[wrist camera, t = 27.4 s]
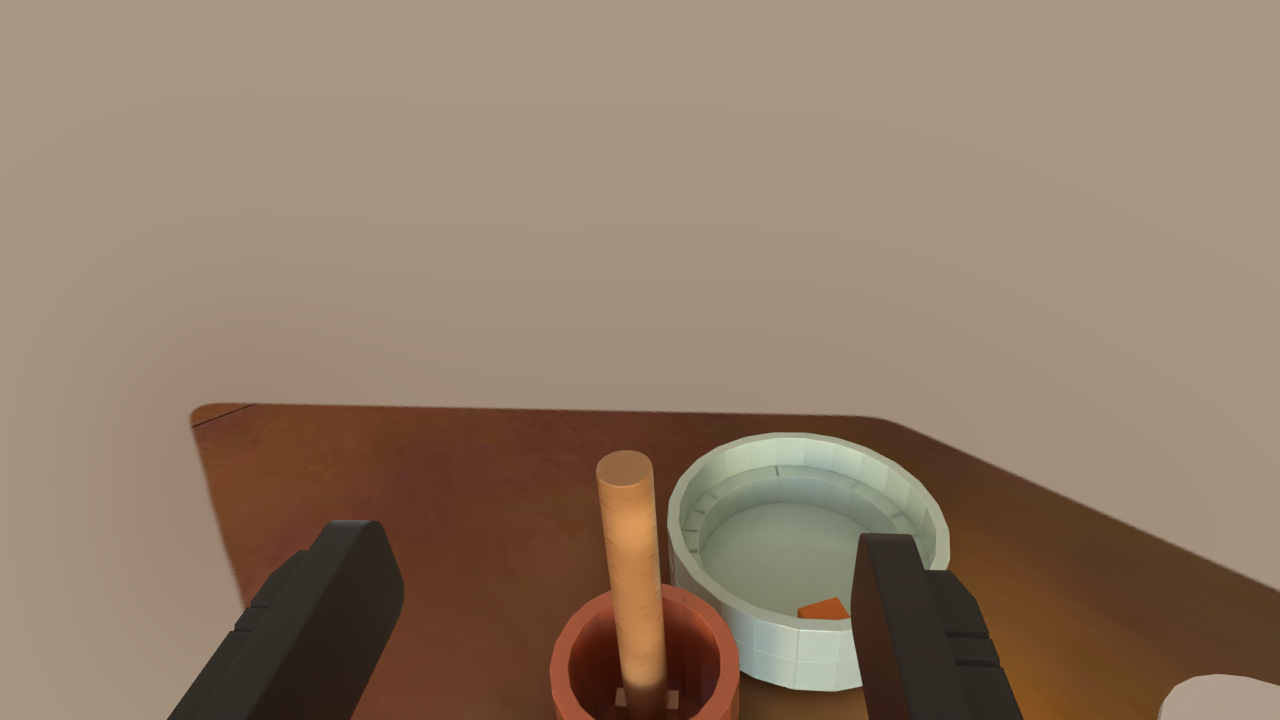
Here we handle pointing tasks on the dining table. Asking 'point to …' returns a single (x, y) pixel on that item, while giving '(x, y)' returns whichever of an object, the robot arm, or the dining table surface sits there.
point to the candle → (1222, 699)
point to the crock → (693, 658)
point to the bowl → (792, 545)
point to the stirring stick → (635, 586)
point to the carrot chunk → (824, 610)
